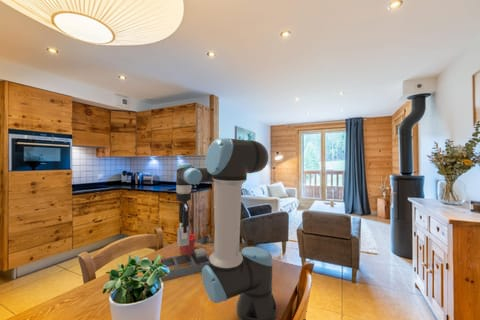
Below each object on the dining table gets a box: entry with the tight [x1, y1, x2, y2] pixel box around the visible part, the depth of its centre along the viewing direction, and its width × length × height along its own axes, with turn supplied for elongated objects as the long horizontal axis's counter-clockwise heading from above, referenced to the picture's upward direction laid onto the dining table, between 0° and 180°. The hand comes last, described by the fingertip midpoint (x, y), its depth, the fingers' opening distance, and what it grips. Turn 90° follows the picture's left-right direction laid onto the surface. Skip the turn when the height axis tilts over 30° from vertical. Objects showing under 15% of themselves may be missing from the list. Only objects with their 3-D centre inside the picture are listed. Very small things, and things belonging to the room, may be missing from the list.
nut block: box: [177, 226, 190, 248], centre depth 110 cm, size 5×5×8 cm
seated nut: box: [193, 247, 207, 264], centre depth 115 cm, size 5×5×8 cm
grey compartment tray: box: [160, 252, 210, 282], centre depth 111 cm, size 15×27×4 cm, turn 116°
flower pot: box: [179, 233, 197, 255], centre depth 131 cm, size 11×11×10 cm
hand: (183, 236), depth 110 cm, fingers closed on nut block, 5 cm apart
